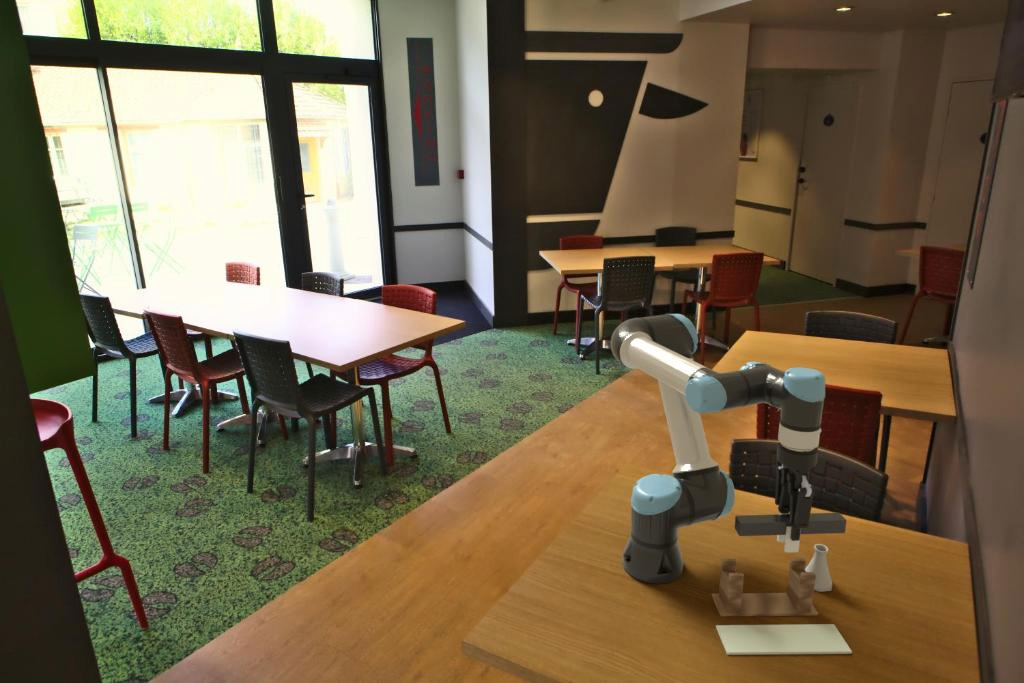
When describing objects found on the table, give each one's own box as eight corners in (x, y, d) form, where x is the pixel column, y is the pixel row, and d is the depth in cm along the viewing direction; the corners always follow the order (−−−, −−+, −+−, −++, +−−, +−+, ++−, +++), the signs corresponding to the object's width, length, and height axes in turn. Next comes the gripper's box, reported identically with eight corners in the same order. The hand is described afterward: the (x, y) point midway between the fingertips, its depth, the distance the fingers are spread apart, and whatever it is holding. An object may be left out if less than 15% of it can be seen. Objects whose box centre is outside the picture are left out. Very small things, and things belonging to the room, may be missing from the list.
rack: (720, 616, 147) (724, 577, 144) (711, 595, 154) (715, 557, 151) (817, 615, 147) (823, 576, 144) (804, 594, 153) (809, 556, 150)
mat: (727, 654, 136) (727, 652, 136) (716, 627, 144) (716, 625, 143) (851, 653, 136) (851, 651, 135) (833, 626, 143) (833, 624, 143)
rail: (739, 536, 134) (740, 523, 134) (734, 528, 137) (735, 515, 136) (844, 532, 135) (846, 520, 134) (837, 525, 137) (839, 512, 137)
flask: (836, 594, 153) (841, 558, 150) (803, 590, 155) (808, 555, 152) (828, 575, 160) (833, 540, 157) (797, 572, 162) (801, 537, 159)
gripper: (836, 461, 123) (823, 568, 129) (798, 427, 138) (788, 524, 145) (797, 462, 123) (785, 569, 129) (764, 428, 138) (755, 525, 145)
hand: (787, 545), depth 137 cm, fingers closed on rail, 3 cm apart
